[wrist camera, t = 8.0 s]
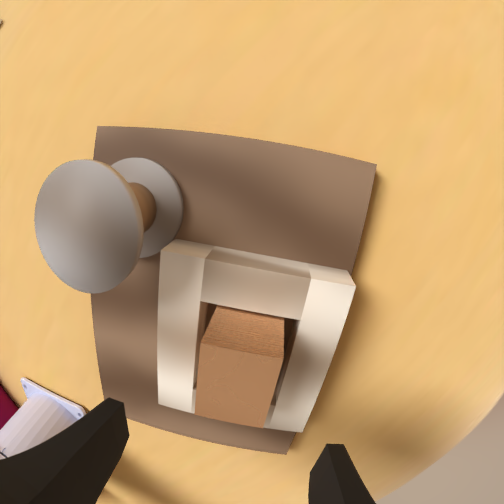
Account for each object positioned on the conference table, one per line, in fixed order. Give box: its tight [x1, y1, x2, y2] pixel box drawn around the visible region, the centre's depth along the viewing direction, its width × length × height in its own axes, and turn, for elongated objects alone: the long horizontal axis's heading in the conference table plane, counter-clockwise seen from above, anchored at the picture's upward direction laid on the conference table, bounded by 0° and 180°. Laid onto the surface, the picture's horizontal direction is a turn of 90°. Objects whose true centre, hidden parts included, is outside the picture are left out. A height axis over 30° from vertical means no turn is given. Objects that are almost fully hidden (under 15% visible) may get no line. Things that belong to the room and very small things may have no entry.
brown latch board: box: [35, 126, 377, 454], centre depth 14 cm, size 20×14×6 cm
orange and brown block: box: [194, 305, 284, 428], centre depth 13 cm, size 4×3×5 cm
